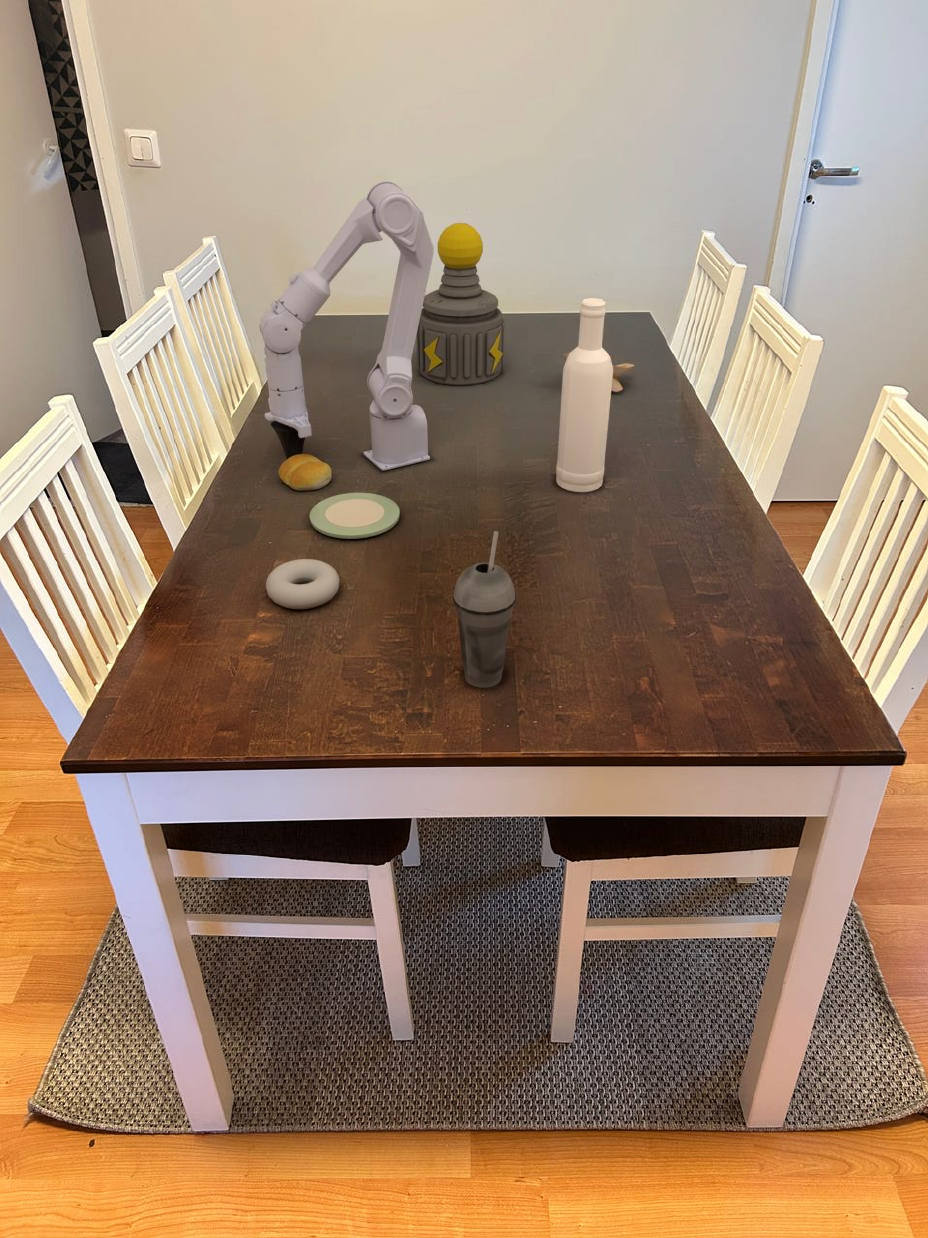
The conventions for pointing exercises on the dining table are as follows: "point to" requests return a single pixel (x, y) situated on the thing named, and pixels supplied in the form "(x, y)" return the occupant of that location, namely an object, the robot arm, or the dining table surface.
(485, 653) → the beverage cup
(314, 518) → the plate
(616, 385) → the decorative flower
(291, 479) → the bread roll
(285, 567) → the donut
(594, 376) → the bottle
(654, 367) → the dining table surface
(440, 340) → the decorative lamp
